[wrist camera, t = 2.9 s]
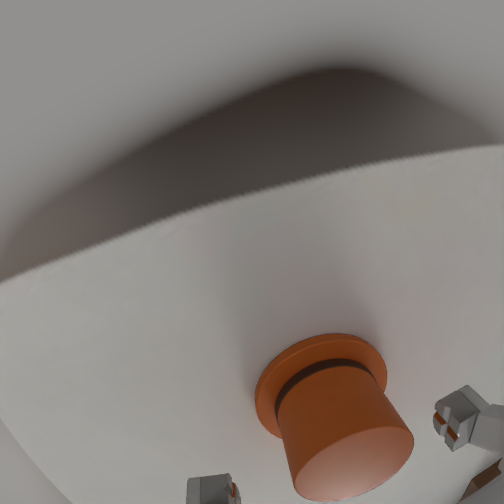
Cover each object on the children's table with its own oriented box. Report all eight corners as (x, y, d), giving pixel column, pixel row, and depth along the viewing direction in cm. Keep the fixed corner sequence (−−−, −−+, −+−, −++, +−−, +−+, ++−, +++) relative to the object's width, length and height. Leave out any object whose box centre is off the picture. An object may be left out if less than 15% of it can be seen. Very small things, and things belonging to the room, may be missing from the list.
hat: (287, 317, 12) (323, 396, 7) (403, 347, 13) (461, 409, 8) (235, 425, 13) (243, 509, 9) (344, 439, 14) (374, 507, 10)
